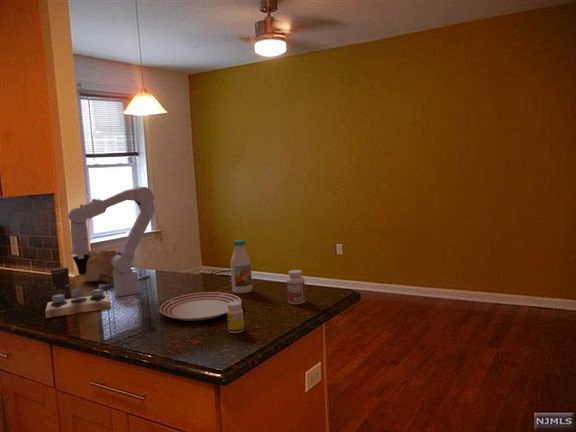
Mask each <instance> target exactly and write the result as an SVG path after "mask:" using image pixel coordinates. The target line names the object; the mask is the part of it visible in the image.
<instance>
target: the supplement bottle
mask: <svg viewBox="0 0 576 432" xmlns="http://www.w3.org/2000/svg"><path fill="white" fill-rule="evenodd" d="M226 316H227V319H226V320H227V329H228V332H229V333H231V334H238V333H242V332H244V330H245V321H244V310H243V308H242V301H241V302H238V301H234V302H229V303H228V310H227V314H226Z"/></svg>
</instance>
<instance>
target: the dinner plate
mask: <svg viewBox="0 0 576 432" xmlns="http://www.w3.org/2000/svg"><path fill="white" fill-rule="evenodd" d="M234 301H238V302H241V303H242V299H241V298H240V297H239V296H237V295H235V294H232V293H226V292H219V291H218V292H216V291H214V292H213V291H205V292H195V293H188V294H184V295H183V294H182V295H180V296H176V297H173V298H171V299H169V300H166V301H165V302H163V303H162V304H161V305H160V306H159V308H158V309H159V312H160V313H161V314H162V315H164V316H166V317H168V318H172V319H175V320H180V321H186V322H192V321H193V322H197V321H199V322H200V321H207V320H211V319H215V318H219V317H221V316H223V315H227V310H228V303H229V302H234Z"/></svg>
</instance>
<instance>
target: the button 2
mask: <svg viewBox="0 0 576 432" xmlns="http://www.w3.org/2000/svg"><path fill="white" fill-rule="evenodd" d="M90 292H91V294H90V295H91V296H92V297H100V296H103V294H104V290H103V288H96V289H92V290H91V291H90Z"/></svg>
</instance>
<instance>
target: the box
mask: <svg viewBox="0 0 576 432" xmlns="http://www.w3.org/2000/svg"><path fill="white" fill-rule="evenodd" d="M69 273H70V272H69V268H68V266H63V267H55V268H50V275H51V276H50V277H51V286H52V287H51V288H52V296H55V295H60V294H63V295H64V296H65V299H71V296H72V294H71V284H70V276H69V275H70V274H69Z"/></svg>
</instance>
